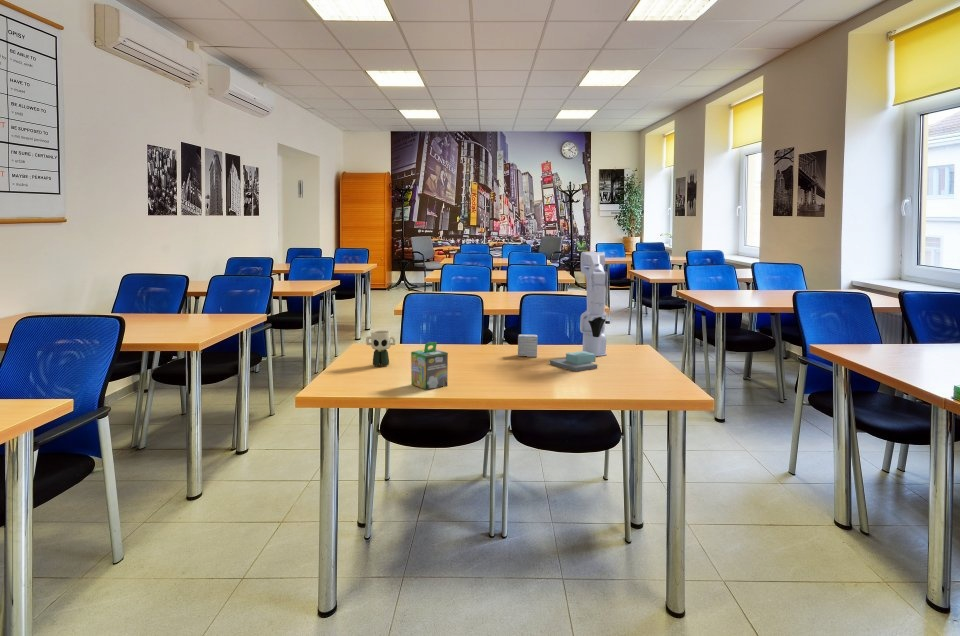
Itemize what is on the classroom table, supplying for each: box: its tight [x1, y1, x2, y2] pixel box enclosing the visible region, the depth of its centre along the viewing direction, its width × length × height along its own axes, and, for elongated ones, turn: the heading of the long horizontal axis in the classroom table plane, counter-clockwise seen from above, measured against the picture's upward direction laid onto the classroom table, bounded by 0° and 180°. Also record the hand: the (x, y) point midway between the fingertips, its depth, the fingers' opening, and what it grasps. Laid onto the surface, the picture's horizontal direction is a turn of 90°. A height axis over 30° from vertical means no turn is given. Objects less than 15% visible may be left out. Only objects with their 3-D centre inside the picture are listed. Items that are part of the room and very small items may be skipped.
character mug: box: [365, 329, 396, 367], centre depth 241 cm, size 11×7×13 cm, turn 94°
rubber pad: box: [549, 357, 598, 373], centre depth 246 cm, size 11×15×2 cm
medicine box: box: [517, 334, 538, 358], centre depth 263 cm, size 8×4×9 cm, turn 84°
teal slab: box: [565, 350, 597, 364], centre depth 247 cm, size 3×7×9 cm
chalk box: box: [410, 341, 449, 391], centre depth 212 cm, size 9×9×15 cm
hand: (596, 336), depth 251 cm, fingers closed
